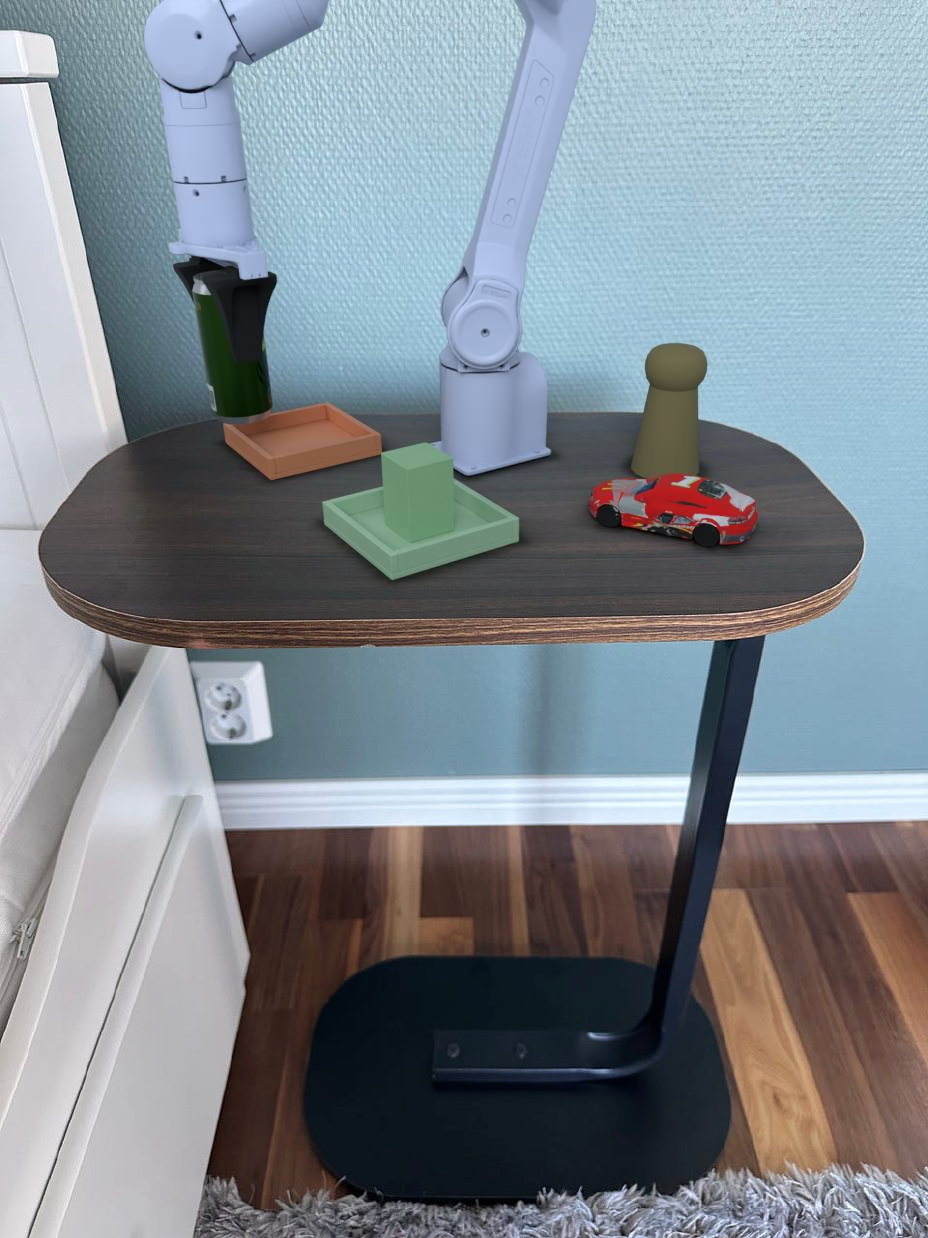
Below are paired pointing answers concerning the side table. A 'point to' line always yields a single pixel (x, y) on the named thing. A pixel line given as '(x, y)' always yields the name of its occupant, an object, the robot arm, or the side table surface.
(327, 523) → the sage tray
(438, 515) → the sage block
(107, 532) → the side table surface
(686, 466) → the olive pawn piece
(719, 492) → the race car
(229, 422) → the beer can
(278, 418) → the terracotta tray
